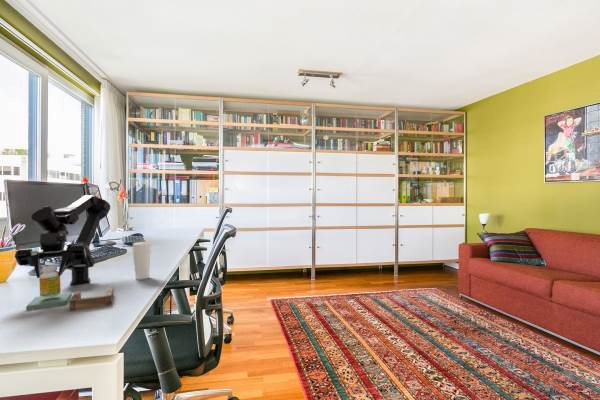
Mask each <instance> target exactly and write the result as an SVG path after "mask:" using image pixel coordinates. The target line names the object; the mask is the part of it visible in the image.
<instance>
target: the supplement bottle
mask: <svg viewBox="0 0 600 400" xmlns="http://www.w3.org/2000/svg"><path fill="white" fill-rule="evenodd" d="M38 279H39V297H42V298H47V297H54V296H57V295H59V294H62V292H61V290H62V289H61V287H62V286H61V276H59V270H58V265H56V264H49V265H43V266H41V273H40V276H39V278H38Z"/></svg>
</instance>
